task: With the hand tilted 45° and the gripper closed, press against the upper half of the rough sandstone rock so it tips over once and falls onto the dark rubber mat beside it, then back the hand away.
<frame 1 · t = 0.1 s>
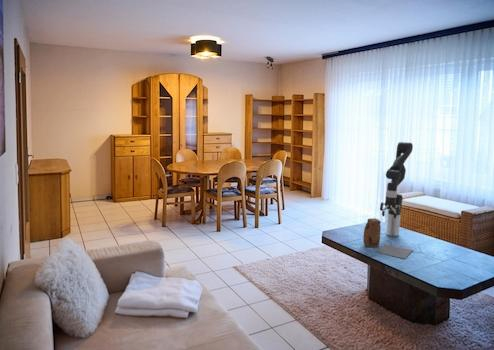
hand: (389, 217, 309), 17 cm above the table, tool pointing down, fingers open, 8 cm apart
mat: (394, 251, 285), on the table
rough sandstone rock: (370, 246, 296), on the table
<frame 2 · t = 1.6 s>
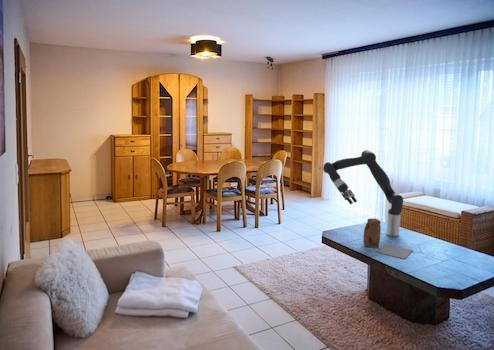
hand: (354, 202, 300), 30 cm above the table, tool tilted 45°, fingers open, 8 cm apart
nothing on the table moved.
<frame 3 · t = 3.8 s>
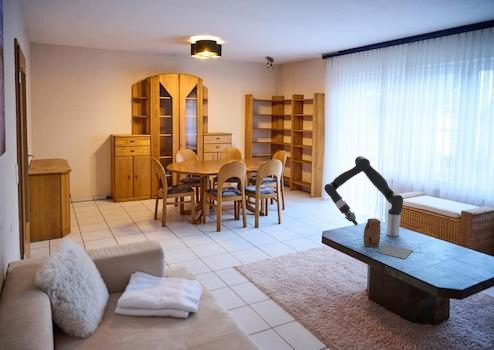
hand: (356, 224, 300), 14 cm above the table, tool tilted 45°, fingers closed
nothing on the table moved.
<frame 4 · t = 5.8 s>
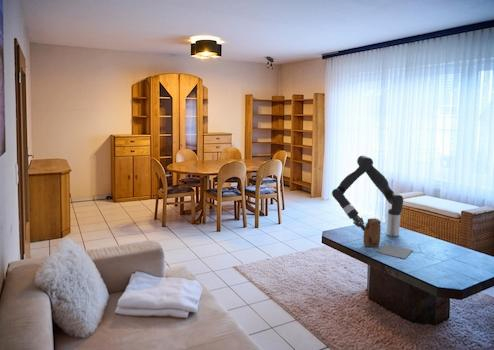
hand: (365, 230, 297), 11 cm above the table, tool tilted 45°, fingers closed
rough sandstone rock: (370, 246, 296), on the table, touching gripper
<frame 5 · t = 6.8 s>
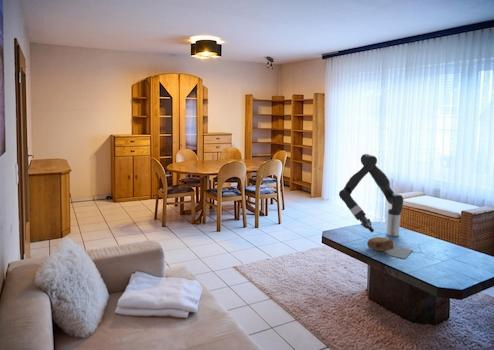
hand: (372, 231, 294), 11 cm above the table, tool tilted 45°, fingers closed
rough sandstone rock: (373, 242, 293), point 3 cm above the table
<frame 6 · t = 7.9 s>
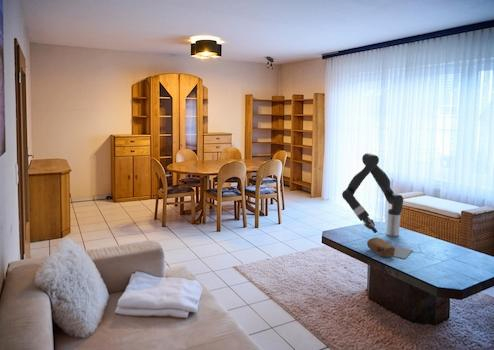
hand: (376, 232, 292), 11 cm above the table, tool tilted 45°, fingers closed
rough sandstone rock: (372, 242, 290), point 5 cm above the table, touching mat
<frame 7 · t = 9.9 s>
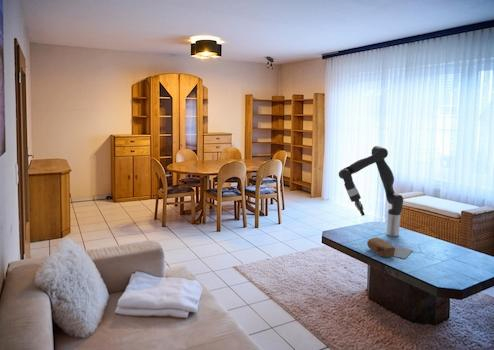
hand: (363, 215, 301), 20 cm above the table, tool tilted 30°, fingers closed
nothing on the table moved.
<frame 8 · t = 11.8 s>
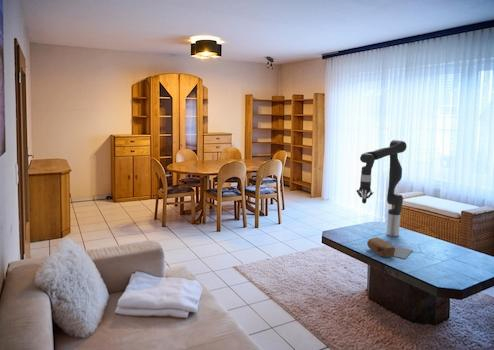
hand: (364, 203, 302), 29 cm above the table, tool pointing down, fingers closed
nothing on the table moved.
at the end: rough sandstone rock tilted 91°; rough sandstone rock touching mat; rough sandstone rock inside the target area (3.3 cm from its centre), point 4.5 cm above the table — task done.
